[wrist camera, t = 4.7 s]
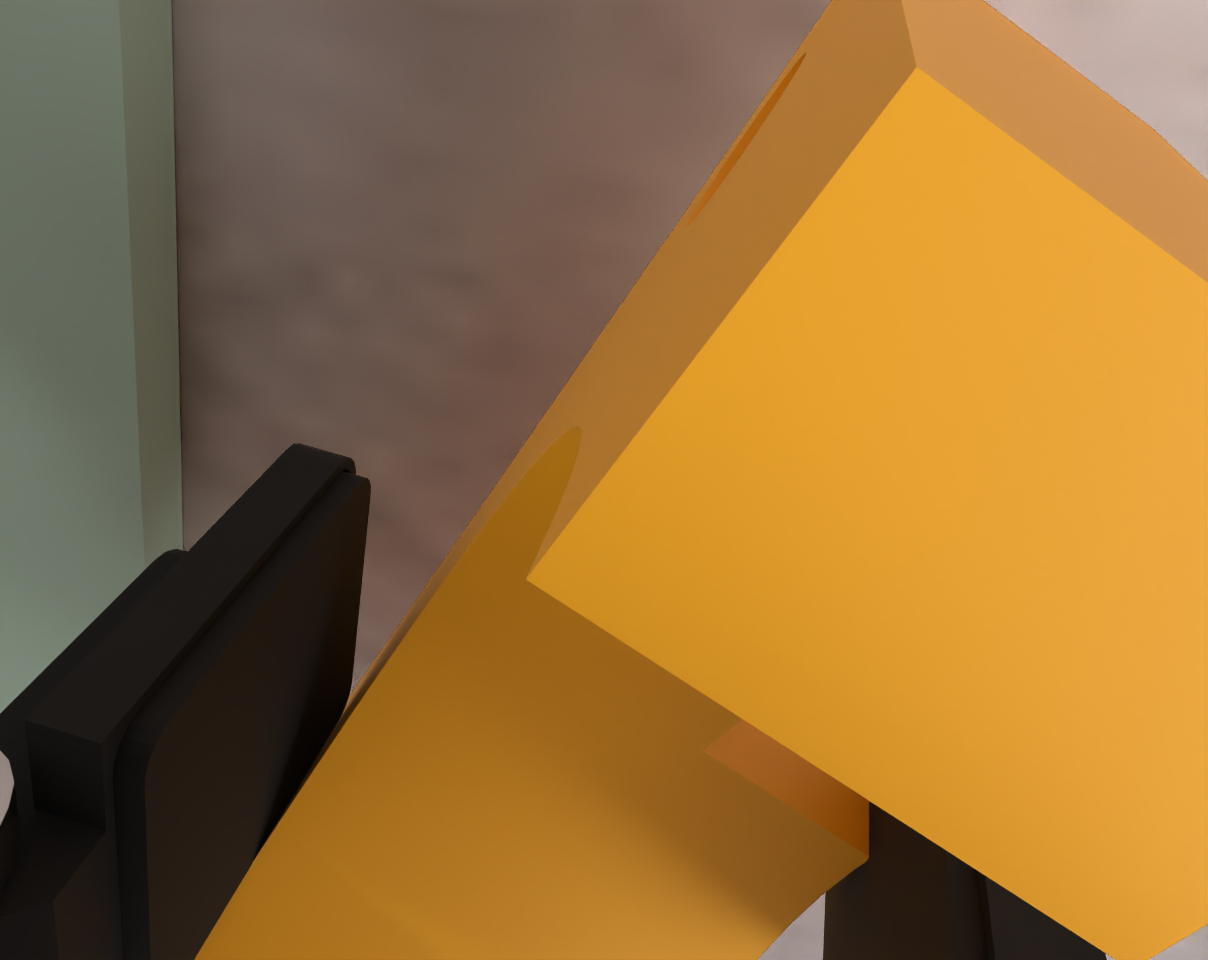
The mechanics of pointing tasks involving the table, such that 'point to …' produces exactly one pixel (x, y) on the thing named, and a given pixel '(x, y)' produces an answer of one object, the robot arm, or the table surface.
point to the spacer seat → (84, 317)
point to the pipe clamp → (817, 553)
